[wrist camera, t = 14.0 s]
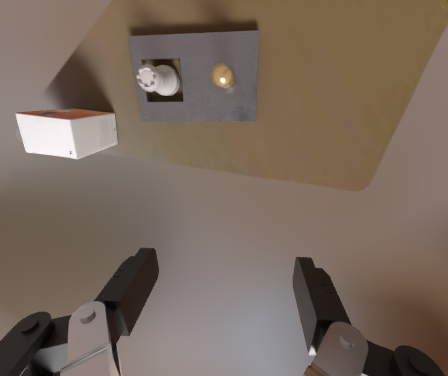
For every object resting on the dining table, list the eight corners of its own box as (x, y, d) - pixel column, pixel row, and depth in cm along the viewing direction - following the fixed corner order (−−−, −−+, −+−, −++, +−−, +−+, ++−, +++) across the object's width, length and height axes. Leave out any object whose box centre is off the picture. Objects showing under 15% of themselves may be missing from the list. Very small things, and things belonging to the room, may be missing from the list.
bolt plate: (258, 33, 31) (263, 9, 22) (255, 120, 36) (257, 128, 27) (133, 38, 33) (91, 18, 24) (145, 120, 38) (114, 128, 29)
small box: (116, 112, 38) (70, 118, 28) (118, 144, 40) (78, 160, 30) (72, 107, 38) (12, 111, 28) (77, 139, 40) (24, 152, 31)
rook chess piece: (148, 73, 35) (122, 68, 27) (171, 59, 33) (150, 50, 26) (162, 101, 36) (141, 102, 29) (185, 88, 35) (169, 86, 28)
